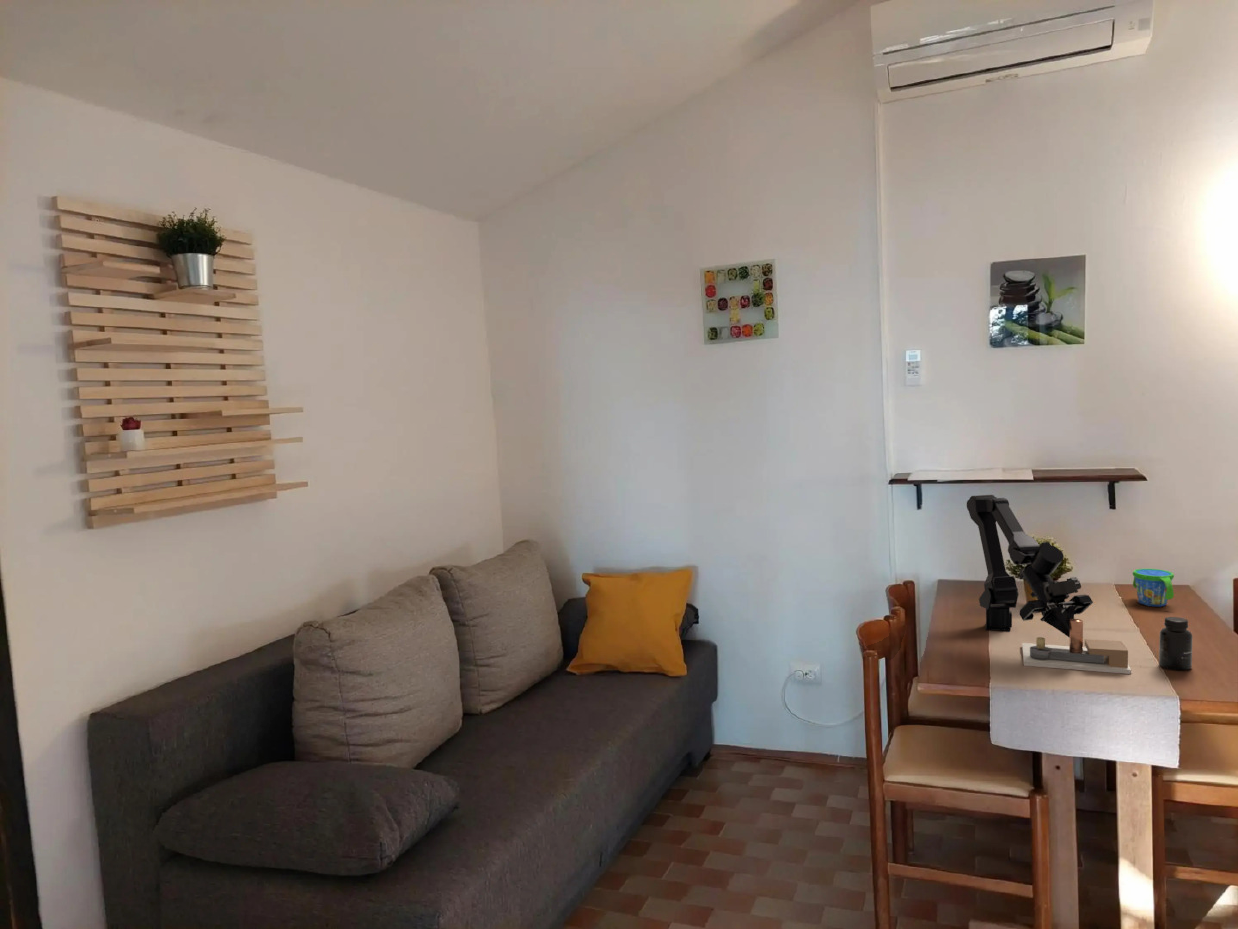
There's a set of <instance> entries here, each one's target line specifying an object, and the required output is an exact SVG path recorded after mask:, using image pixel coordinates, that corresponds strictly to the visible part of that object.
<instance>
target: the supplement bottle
mask: <svg viewBox="0 0 1238 929" xmlns="http://www.w3.org/2000/svg"><path fill="white" fill-rule="evenodd" d="M1163 625H1164V627H1163V628H1162V629H1161V630H1159V645H1158V646H1159V650H1158V651H1159V653H1158V665H1159V666H1161V667H1162V668H1165V669H1167V670H1171V671H1177V672H1179V671H1180V672H1181V671H1189V670H1191V669H1192V665H1193V633H1192V632H1191V631H1190V630H1188V629H1189V620H1188V619H1186V618H1183V617H1178V616H1167V617H1165V618H1164V623H1163Z"/></svg>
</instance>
